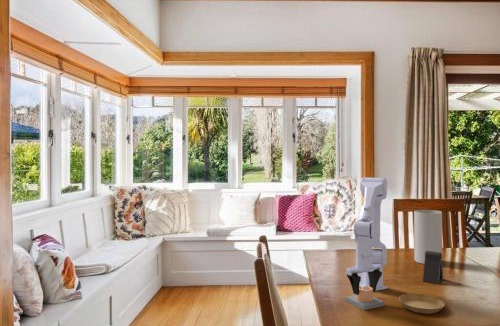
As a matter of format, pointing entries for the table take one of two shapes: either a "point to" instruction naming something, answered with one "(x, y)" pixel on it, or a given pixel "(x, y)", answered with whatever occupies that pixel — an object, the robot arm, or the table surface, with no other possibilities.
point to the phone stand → (433, 267)
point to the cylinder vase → (427, 233)
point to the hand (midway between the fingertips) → (364, 292)
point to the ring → (365, 294)
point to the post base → (364, 305)
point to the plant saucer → (421, 303)
